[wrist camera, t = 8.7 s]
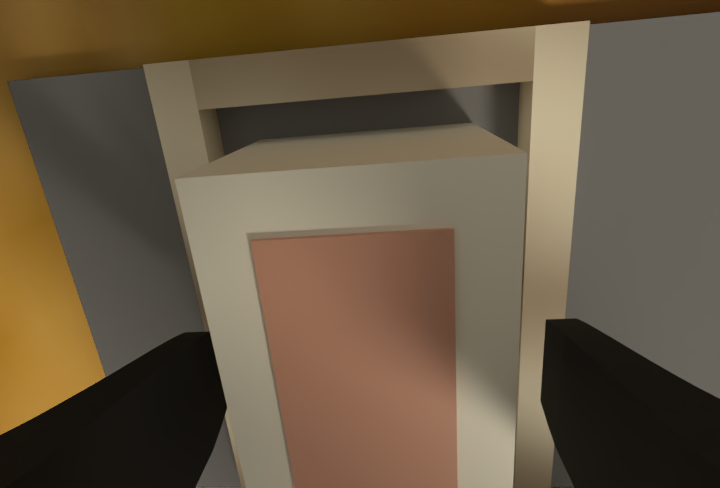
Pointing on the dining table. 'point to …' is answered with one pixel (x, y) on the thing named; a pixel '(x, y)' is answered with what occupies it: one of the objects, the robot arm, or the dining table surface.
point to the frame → (406, 74)
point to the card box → (365, 304)
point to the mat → (406, 110)
